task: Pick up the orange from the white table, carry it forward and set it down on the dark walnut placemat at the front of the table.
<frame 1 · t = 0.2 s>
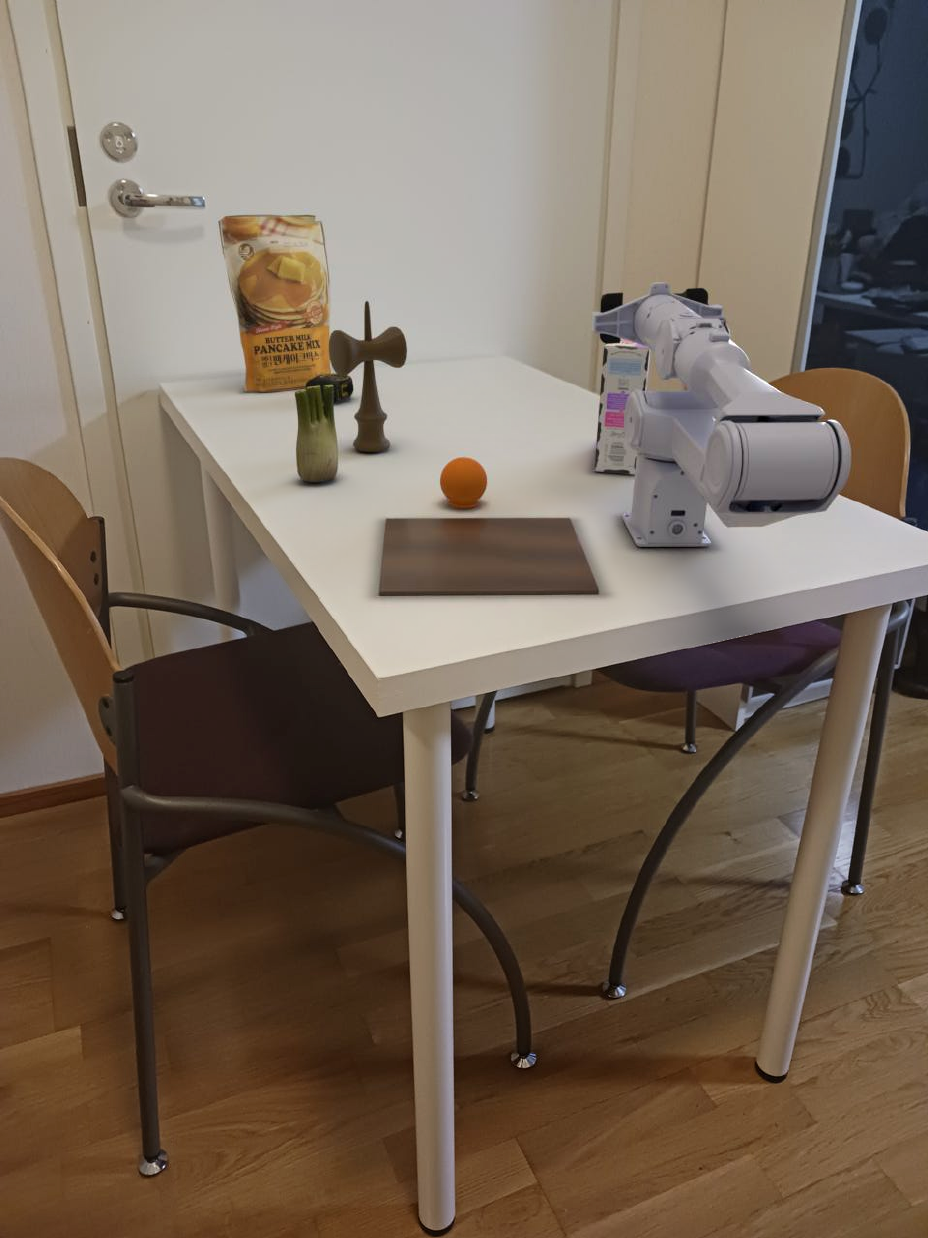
hand: (640, 304, 116), 22 cm above the table, tool horizontal, fingers open, 7 cm apart
fennel bulb: (319, 482, 123), on the table
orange: (463, 503, 115), on the table
candy box: (618, 461, 132), on the table
front mat: (483, 554, 101), on the table
tape measure: (331, 401, 161), on the table
kendama: (371, 450, 135), on the table
pancake mix bag: (287, 387, 170), on the table
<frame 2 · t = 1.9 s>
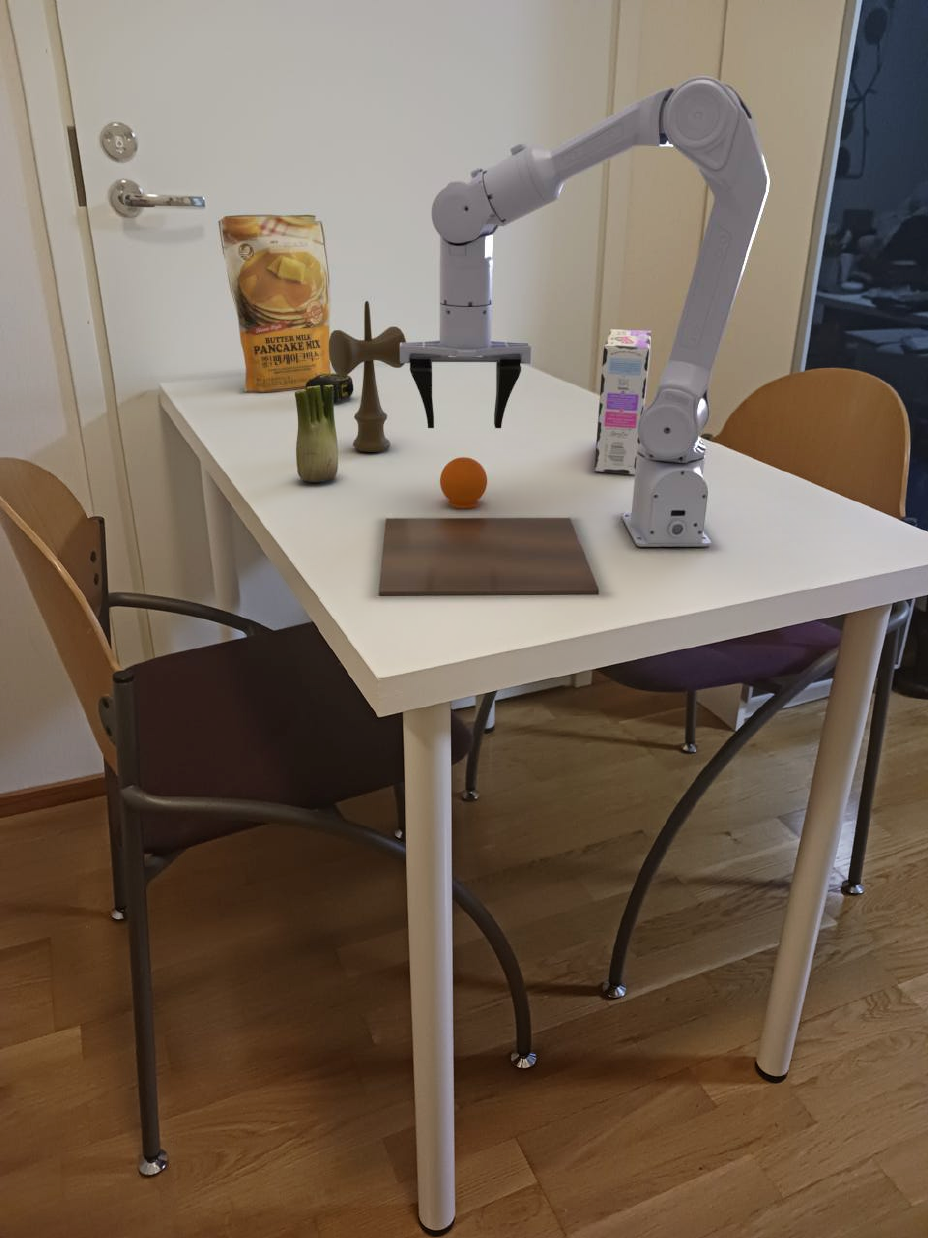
hand: (464, 426, 111), 9 cm above the table, tool pointing down, fingers open, 7 cm apart
nothing on the table moved.
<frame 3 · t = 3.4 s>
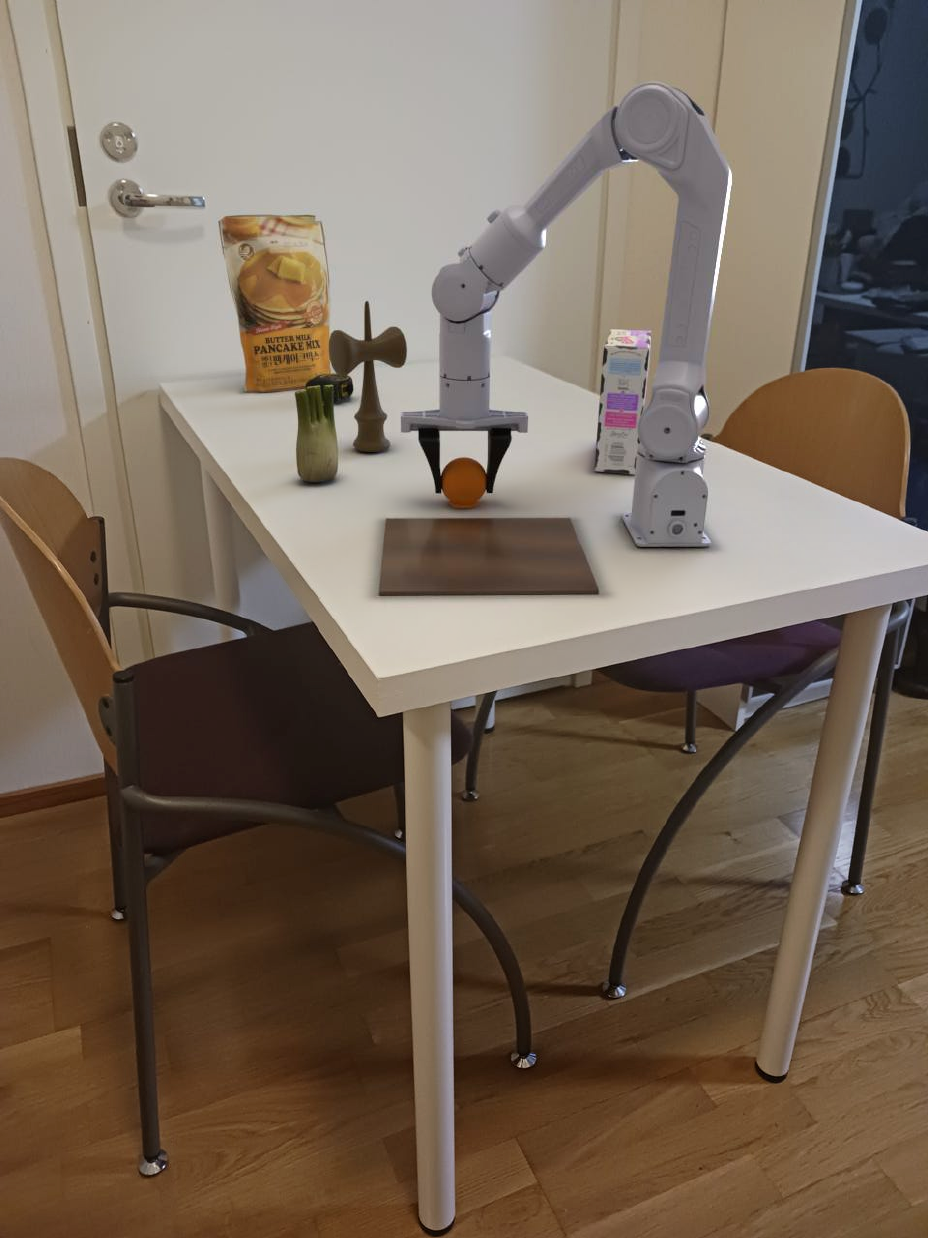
hand: (463, 490, 114), 2 cm above the table, tool pointing down, fingers closed on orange, 5 cm apart
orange: (463, 503, 115), on the table, touching gripper
everything else where it was.
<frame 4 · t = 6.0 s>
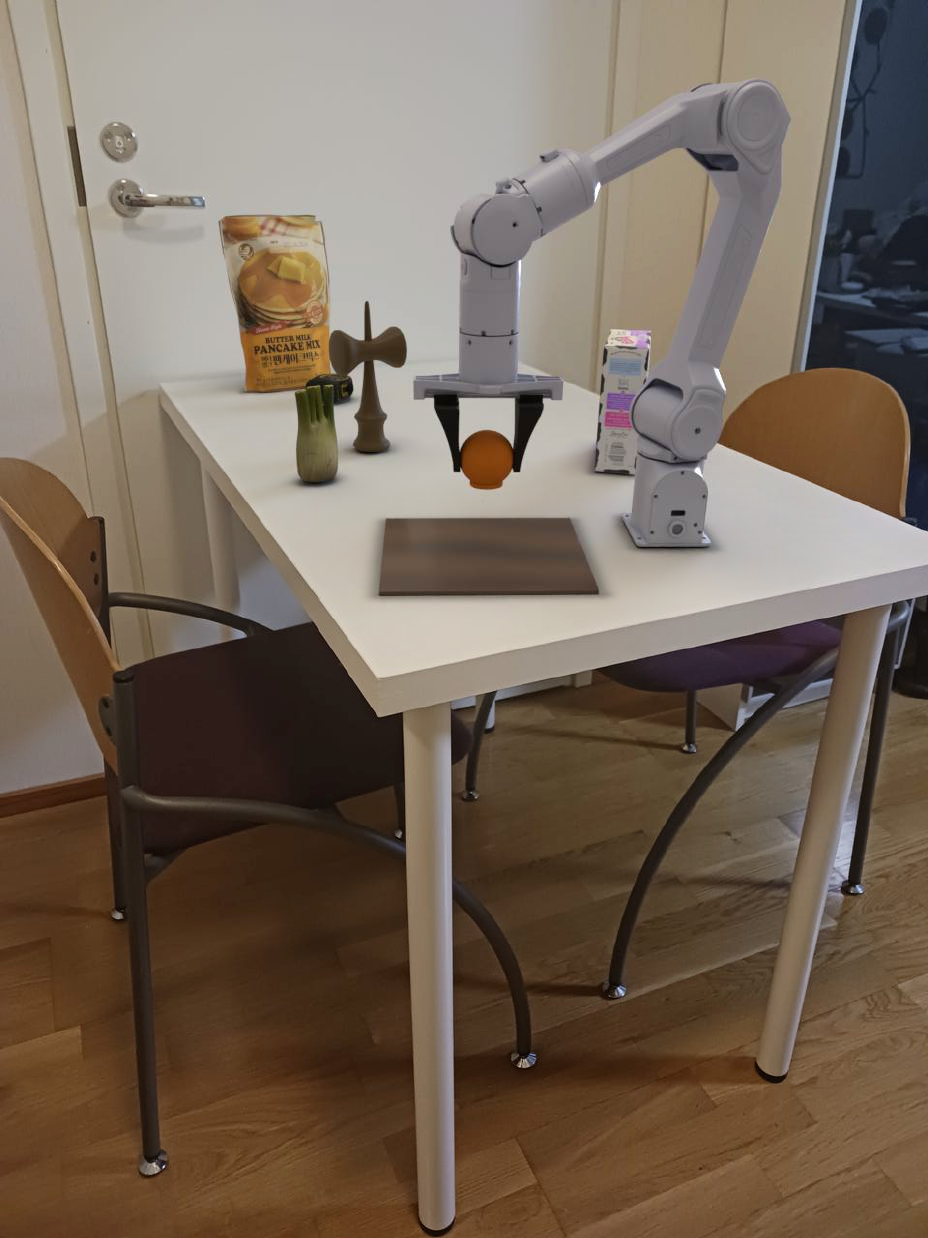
hand: (486, 469, 98), 9 cm above the table, tool pointing down, fingers closed on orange, 5 cm apart
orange: (486, 484, 99), point 7 cm above the table, touching gripper
everything else where it was.
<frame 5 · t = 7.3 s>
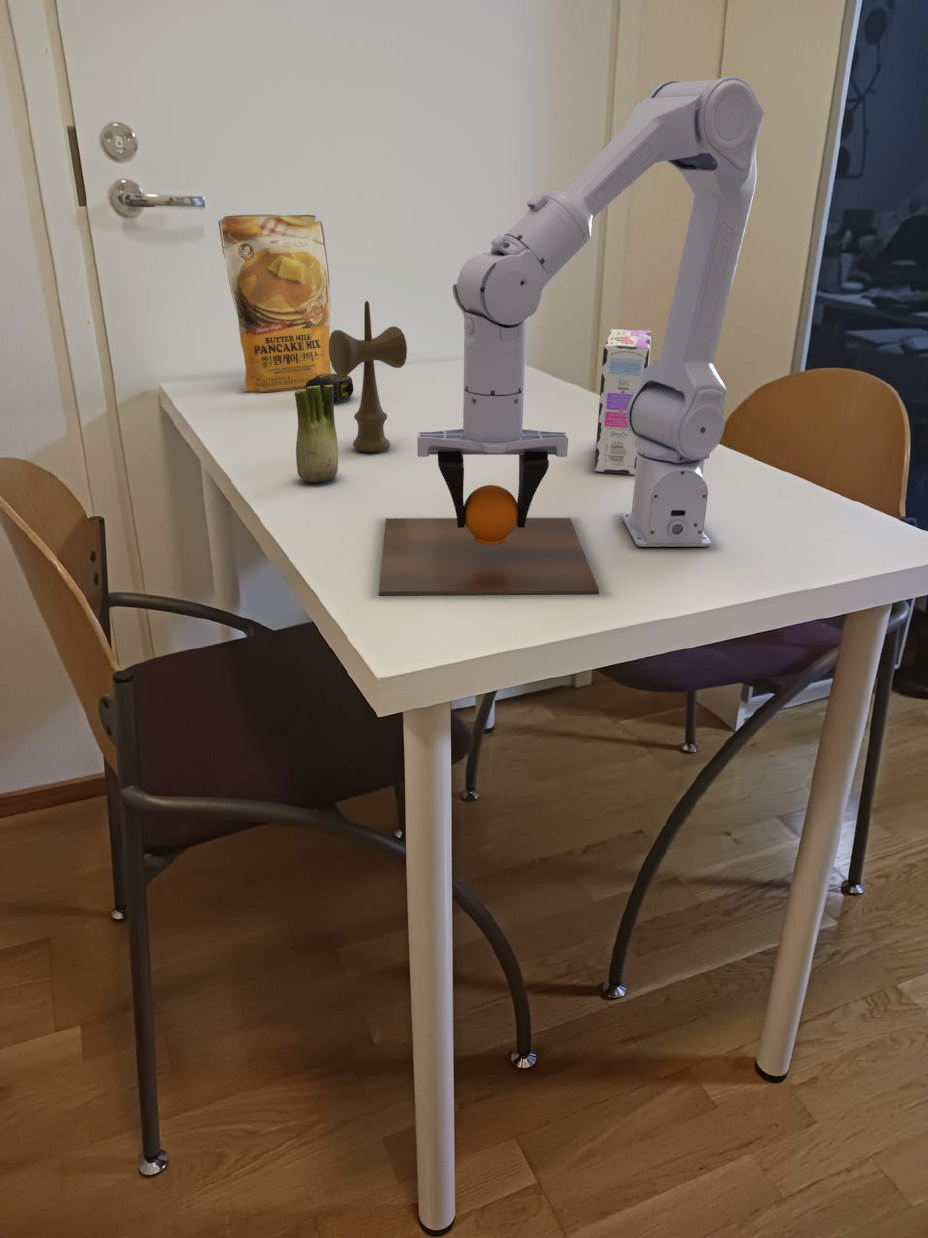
hand: (490, 524, 97), 4 cm above the table, tool pointing down, fingers closed on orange, 5 cm apart
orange: (490, 539, 98), point 3 cm above the table, touching gripper
everything else where it was.
when the fingers open (2 cm above the table, at t = 8.5 s): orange stays where it is, resting on front mat.
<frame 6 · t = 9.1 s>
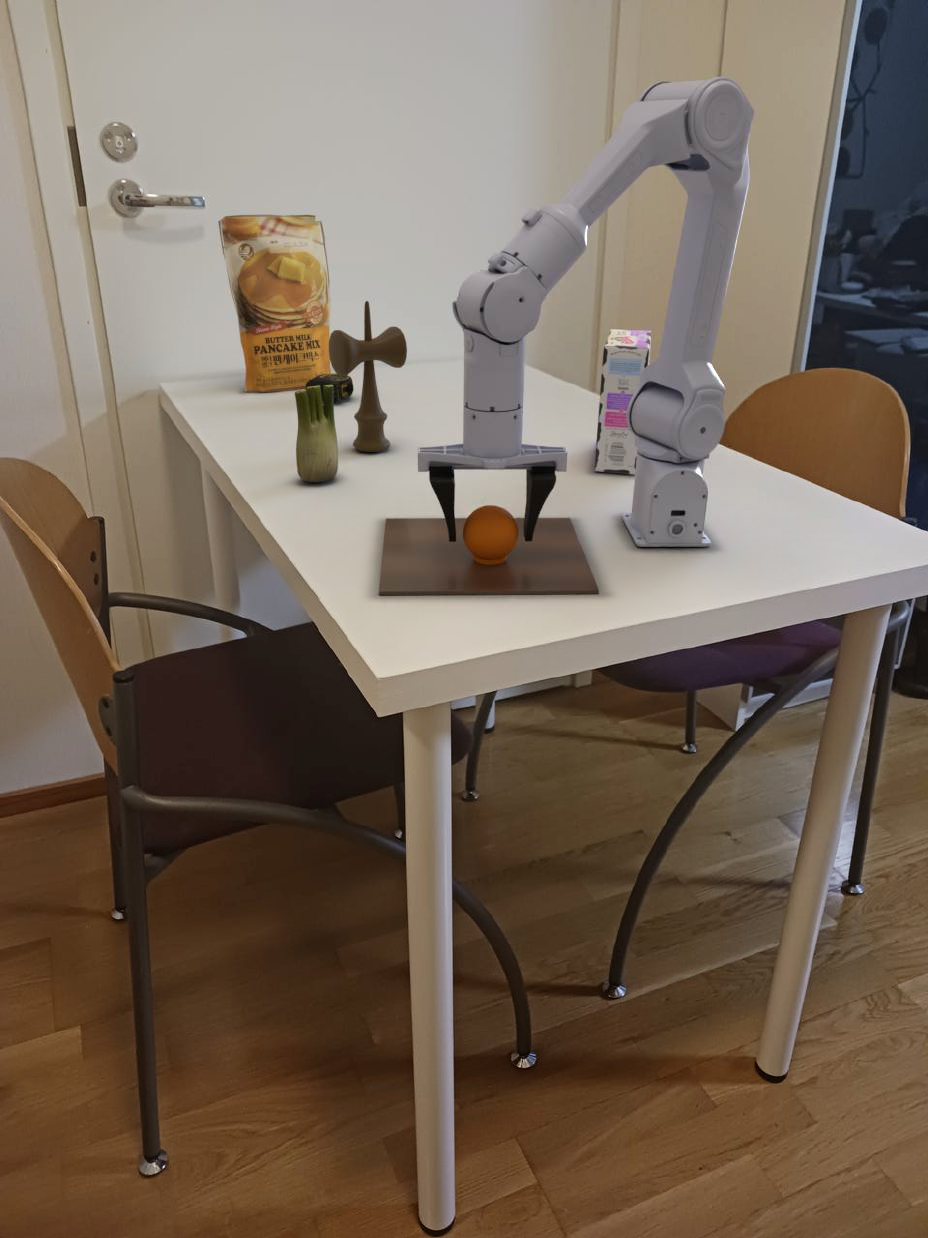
hand: (490, 538, 98), 3 cm above the table, tool pointing down, fingers open, 7 cm apart
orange: (489, 558, 99), resting on front mat
everything else where it was.
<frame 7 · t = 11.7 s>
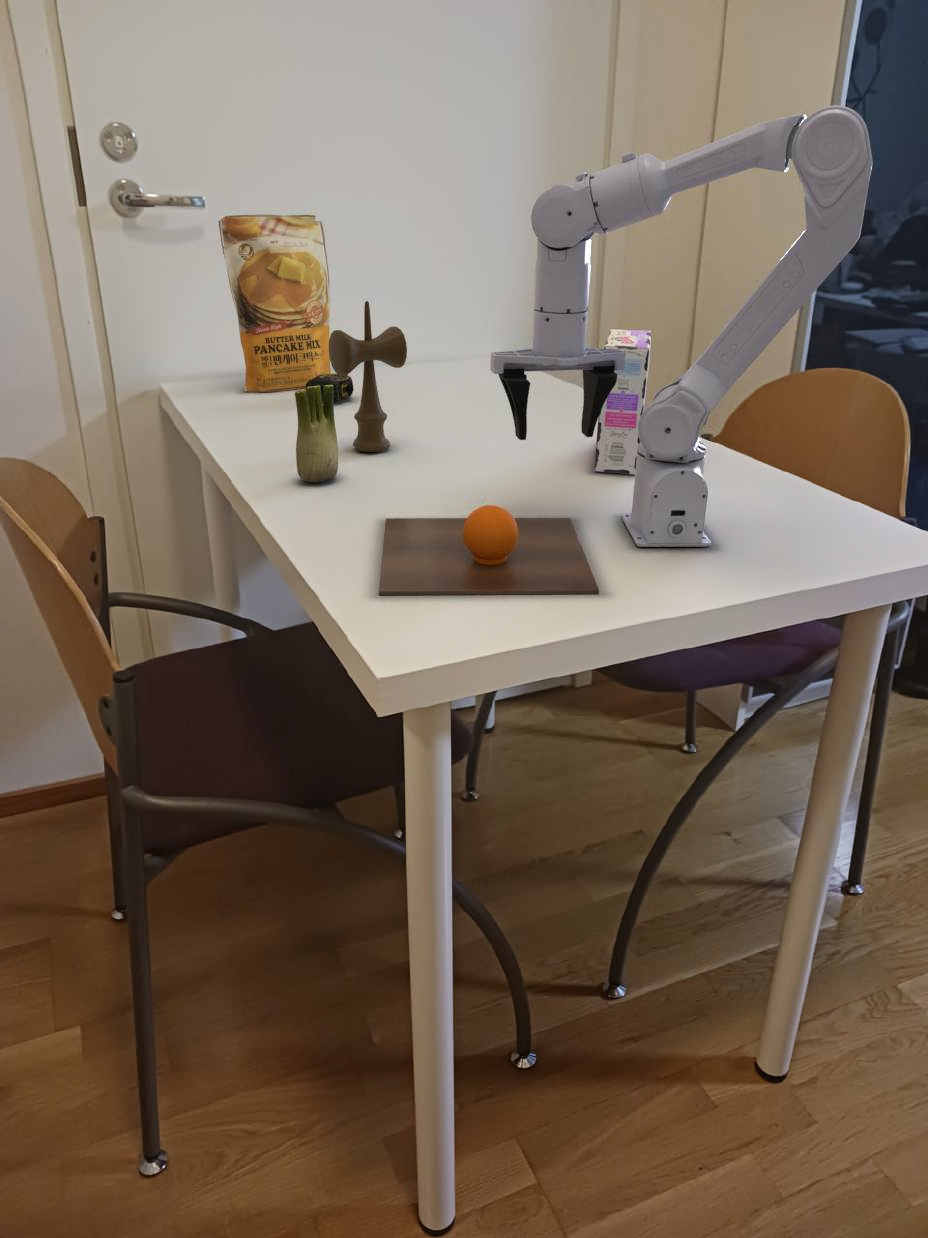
hand: (554, 436, 108), 9 cm above the table, tool pointing down, fingers open, 7 cm apart
nothing on the table moved.
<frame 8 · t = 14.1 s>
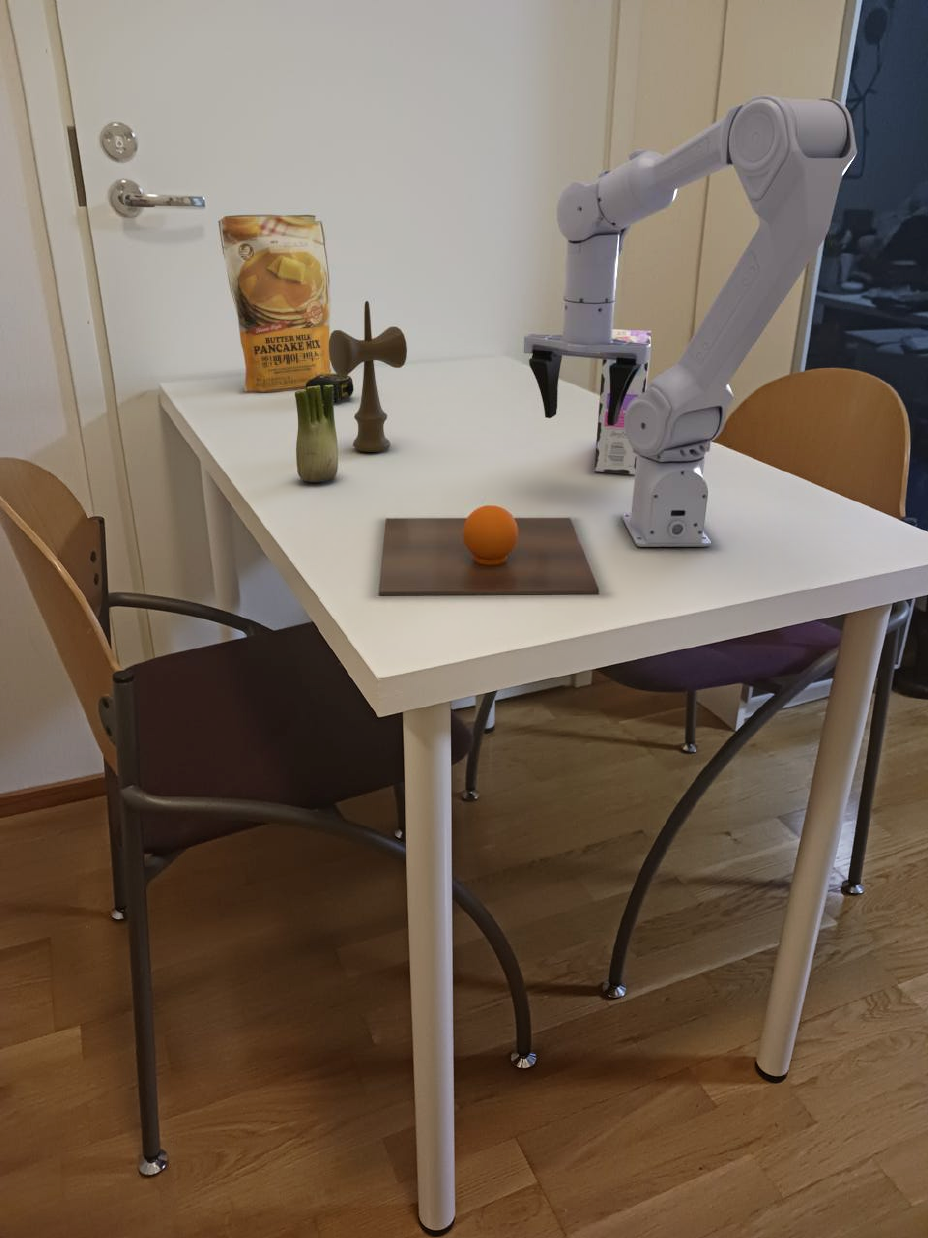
hand: (581, 419, 114), 9 cm above the table, tool pointing down, fingers open, 7 cm apart
nothing on the table moved.
at the end: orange inside the target area (2.1 cm from its centre), resting on front mat; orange touching front mat; the gripper is holding nothing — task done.
